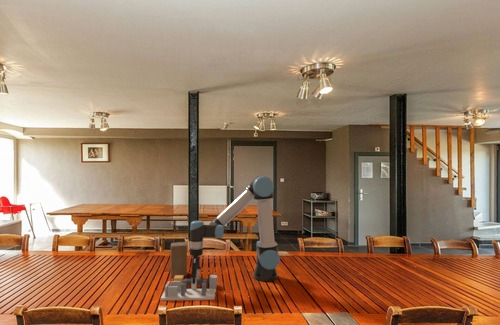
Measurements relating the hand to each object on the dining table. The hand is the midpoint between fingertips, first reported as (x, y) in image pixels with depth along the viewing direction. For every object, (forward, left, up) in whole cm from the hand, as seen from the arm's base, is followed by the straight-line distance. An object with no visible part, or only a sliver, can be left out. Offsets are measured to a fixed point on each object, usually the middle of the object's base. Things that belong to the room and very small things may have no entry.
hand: (195, 284), depth 179 cm
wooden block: (+14, -21, -2) cm, 25 cm away
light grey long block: (+2, +12, -1) cm, 12 cm away
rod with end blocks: (0, 0, -1) cm, 1 cm away
